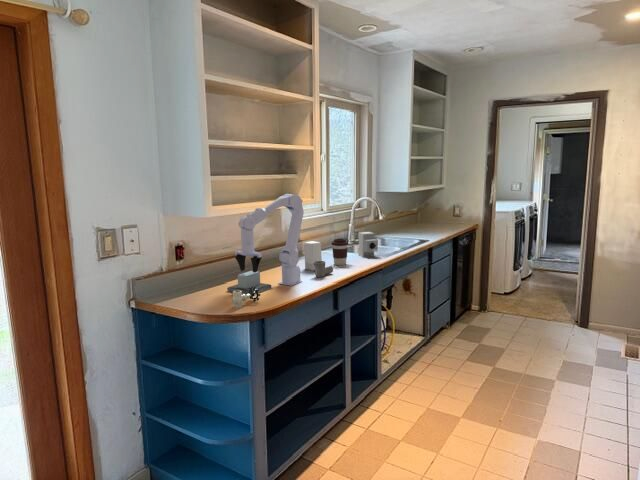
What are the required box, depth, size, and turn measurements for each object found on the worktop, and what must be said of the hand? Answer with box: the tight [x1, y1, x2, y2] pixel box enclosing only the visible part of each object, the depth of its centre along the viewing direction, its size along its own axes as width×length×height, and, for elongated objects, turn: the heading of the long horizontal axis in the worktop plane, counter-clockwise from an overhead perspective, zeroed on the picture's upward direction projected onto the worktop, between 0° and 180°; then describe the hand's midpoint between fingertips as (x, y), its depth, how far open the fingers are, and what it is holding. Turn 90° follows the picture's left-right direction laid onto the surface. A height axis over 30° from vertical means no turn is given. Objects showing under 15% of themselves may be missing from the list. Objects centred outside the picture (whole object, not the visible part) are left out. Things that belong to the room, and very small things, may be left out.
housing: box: [237, 270, 261, 289], centre depth 208 cm, size 10×5×6 cm, turn 148°
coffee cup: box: [331, 238, 349, 266], centre depth 262 cm, size 10×10×15 cm
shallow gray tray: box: [227, 282, 272, 295], centre depth 208 cm, size 14×15×2 cm
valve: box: [232, 286, 261, 309], centre depth 185 cm, size 7×7×12 cm
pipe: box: [313, 260, 334, 278], centre depth 234 cm, size 6×13×8 cm, turn 136°
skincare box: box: [303, 240, 323, 272], centre depth 250 cm, size 8×7×16 cm
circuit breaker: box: [357, 231, 379, 258], centre depth 285 cm, size 8×14×15 cm, turn 21°
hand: (248, 271), depth 207 cm, fingers open, 7 cm apart
